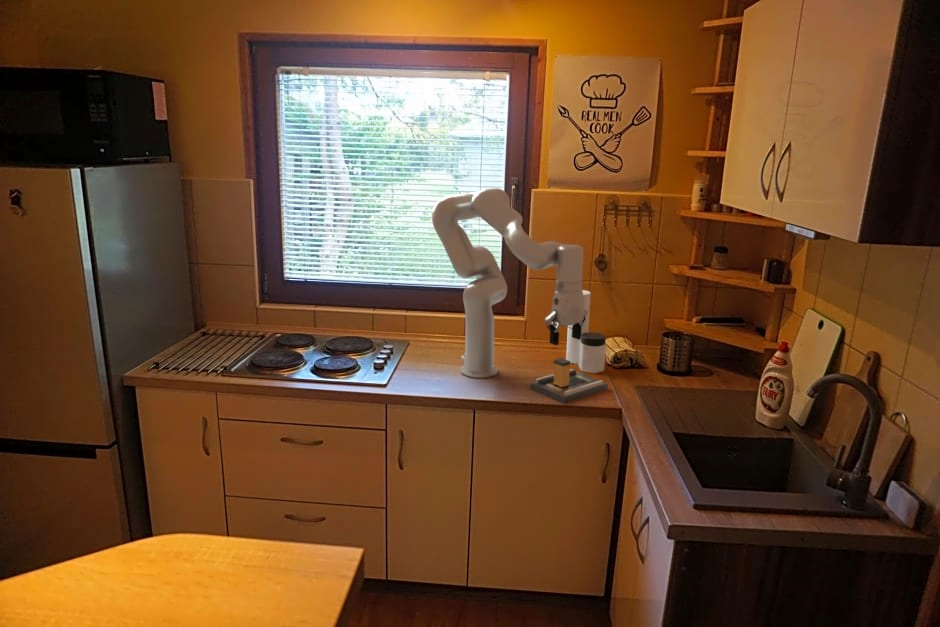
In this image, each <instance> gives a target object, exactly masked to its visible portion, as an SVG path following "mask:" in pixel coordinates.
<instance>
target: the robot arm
mask: <svg viewBox="0 0 940 627" xmlns="http://www.w3.org/2000/svg"><path fill="white" fill-rule="evenodd" d="M510 205H511V201H510V196H509V195H508V194H507V192H506V191H504V190H503V189H501V188H496V187H495V188H487V189H481V190H479V191H474V192H466V193H456V194H455V193H454V194H448V195H445V196H442V197H441V198H440V199H438V200H437V201H436V203H435V204H434V206H433V208H432V212H431V220H432V226H433V228H434V231H435V232H436V234H437V236H438V238H439V240H440V241H441V244H442V245H443V248H444V251H445V252H446V254H447V256H448V259H449V262H450V263H451V265H452V267H453V269H454V272H455V274H456V275H457V276H458V277H460V278H462V279H470V278H474V277H475V278H476V279H475V280H472V281H470V282H469V283H467V285H466V286H465V288H464V290H463V293H462V301H463V304H464V313H465V314H464V315H465V339H464V340H465V346H464V347H465V348H464V349H465V353H464V354H463V355H461V356H460V360H461V361H462V362H463V365H461V367H460V373H461V374H462V375H464V376H466V377H468V378H469V377H470V378H475V379H477V378H478V379H484V378H486V379H487V378H491V377H493V376H496V375H497V374H498V373H499V367H497V365H495V364H494V361H495V360H494V359H495V358H494V357H495V354H494V353H495V316H494V312H493V309H492V306H493V305H496V304H497V303H500V302H502V301H503V300H504V299H505V298H506V296H507V293H508V285H507V282H506V279H505V277H504V275H503V273H502V271H501V269H500V267H499V264H498V262H497V260H496V258H495V256H494V255H493V253H492V252H491V251H490V249H488V248H487V247H485V246H482V245H477V246H473V244H472V243H471V242H472V241H470V238H469V235H468V234H467V233H466V231H465V229H463V227H461V225H459V223H458V222H459V221H464V220H465V221H466V220H470V219H476V218H481V219H482V220H483V221H484V222H486V223H487V224H488V225H489V226H490V227H492V228H493V230H495V231H496V232H497V233H498V234H500V236H502V238H503V239H504V241H505V243H506V246H507V248H508V249H509V251H510V252H511V254H513V255H514V257H516V258H517V259H518V260H519V261H521V263H523V264H524V265H526V266H527V267H528V268H530V269H532V270H536V271H541V270H544V269H548V268H551V267H554V266H556V274H555V275H556V278H555V286H554V289H555V291H554V294H553V298H552V303H551V304H552V305H551V311H550V314H548V316H546V317H545V319H544V321H545V325H546V328H547V329H548V331H549V343H550V344H552V345H555V346H558V345H559V344H560V343H559V342H560V341H559V340H560V332H559V331H560V328H561V327H568V325H572V324H574V325H573V326H572V337H573V338H575V339H578V340H579V339H581V328H582V326H583V322H584V321H585V319H586V318H585V317H586V315H587V313H588V311H586V310H585V309H584V297H583V291H582V290H583V289H582V284H583V282H582V280H583V267H584V266H583V264H584V248H583V247H582V246H581V245H578V244H565V243H561V242H557V241H554V240H553V241H552V240H549V241H548V240H547V241H544V242H540V243H538V242H536V241H535V240H534V239H532V238H531V237H530V236H529V235H528V234H527V233H526V232H525V231H524V228H523V226H522V224H523V216H522V214H521V213H519V212H518V211H517V210H515V209H514V208H513V207H512V206H510Z"/></svg>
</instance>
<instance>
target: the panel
mask: <svg viewBox="0 0 940 627" xmlns="http://www.w3.org/2000/svg"><path fill="white" fill-rule="evenodd" d="M596 381H599V379H597V378H595V377H592V376H589V375H586V374H584V373H581V372H579V371H577V370H576V374H573V375H570V376H569V385H568V386H564V387H560V386H558V385H555V384H554V380H552V381H549V382H546V383H542V384H539V383H537V382H536V380H534V381H530V383H529V384H530V385H529V386H530V387H529V388H530V389H531V390H533V391H536V392H538V393H540V394H542V395H545V397H546V396H547V397H548V398H551V399H554V400H555V401H558V402H559V403H562V404H565V405H566V404H568V403H571V402H573V401H577V400H579V399H583V398H586V397H589V396H592V395H596V394H598V393H601V392H605V391H607V390H609V389H608V388H609V383H608V382H605V381H603V384H602V385H598V386H595V387H592V388H589V389H586V390H582V391H579V392H576V393H573V394H570V395H564V391H567V390H570V389H574V388H577V387H580V386H583V385H586V384H590V383H593V382H596Z"/></svg>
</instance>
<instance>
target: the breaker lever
mask: <svg viewBox="0 0 940 627" xmlns="http://www.w3.org/2000/svg"><path fill="white" fill-rule="evenodd" d="M570 362H571V361H568V360H566V358H563V357H561V358H555V359H554V360H553V363H554V364H553V365H554V368H553V374H554V384H555V385H558V386H560V387H564V386H568V385H569V372H570V369H571V363H570Z"/></svg>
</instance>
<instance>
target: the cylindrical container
mask: <svg viewBox="0 0 940 627" xmlns="http://www.w3.org/2000/svg"><path fill="white" fill-rule="evenodd" d="M581 290H582V291H583V297H584V309H585V310H586V311H588V313H587V315H586V317H585V318H586V319H585V321H584V322H583V326H582V328H581V335H582V334H583V333H587V332H589V323H590V310H591V309H590V307H591V306H590V305H591V291H589V290H584V289H581ZM573 325H574V324H572V325H568V326H567V331H566V332H567V338H566V354H565V359H566V360H568V361H571V362H570V364H572V363H574V364H573V365H579V350H580V341H581V339H579V340H578V339H575V338H573V337H572V326H573Z"/></svg>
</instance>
